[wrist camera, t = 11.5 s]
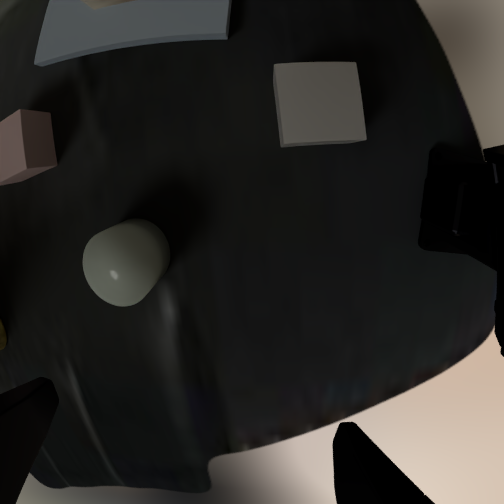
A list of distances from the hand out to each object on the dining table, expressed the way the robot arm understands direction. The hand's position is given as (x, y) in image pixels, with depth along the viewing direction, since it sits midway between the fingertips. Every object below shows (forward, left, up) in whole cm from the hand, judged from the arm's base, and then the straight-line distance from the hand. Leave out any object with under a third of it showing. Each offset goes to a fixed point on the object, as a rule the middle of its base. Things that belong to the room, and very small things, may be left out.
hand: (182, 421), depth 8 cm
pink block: (+15, -8, -12) cm, 21 cm away
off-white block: (-4, -10, -12) cm, 16 cm away
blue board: (+8, -20, -12) cm, 25 cm away
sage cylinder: (+6, -1, -12) cm, 13 cm away
